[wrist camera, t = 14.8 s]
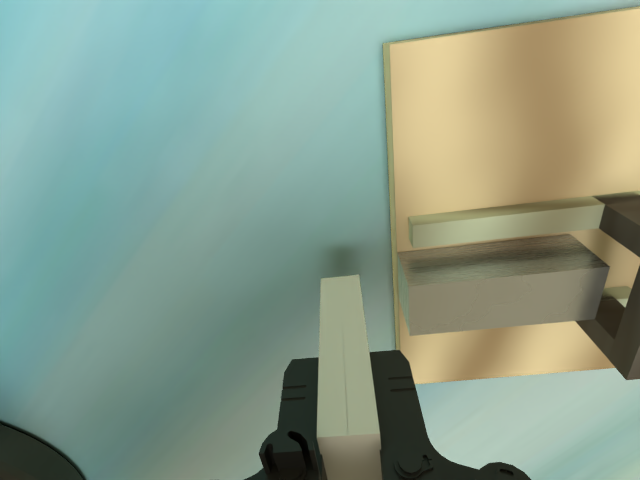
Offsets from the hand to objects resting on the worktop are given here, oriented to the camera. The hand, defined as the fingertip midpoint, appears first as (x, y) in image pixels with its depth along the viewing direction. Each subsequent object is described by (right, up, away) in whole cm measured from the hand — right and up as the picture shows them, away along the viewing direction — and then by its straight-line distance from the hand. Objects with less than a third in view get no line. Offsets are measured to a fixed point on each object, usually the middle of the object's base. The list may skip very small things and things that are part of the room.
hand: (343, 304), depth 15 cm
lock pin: (+6, +1, +1) cm, 6 cm away
